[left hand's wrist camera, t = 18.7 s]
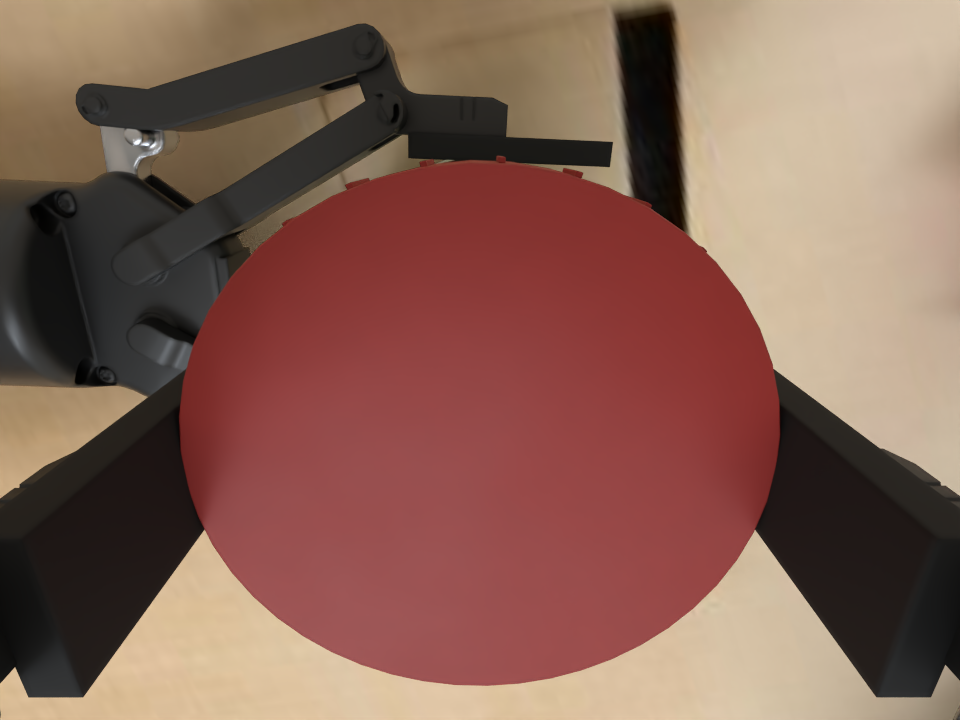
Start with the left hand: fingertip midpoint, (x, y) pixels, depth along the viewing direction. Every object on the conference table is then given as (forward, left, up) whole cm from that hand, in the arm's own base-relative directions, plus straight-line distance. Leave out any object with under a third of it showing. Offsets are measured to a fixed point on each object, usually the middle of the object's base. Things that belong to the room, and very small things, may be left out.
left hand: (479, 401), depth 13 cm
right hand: (-4, -2, -8) cm, 9 cm away
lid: (0, 0, +3) cm, 3 cm away
